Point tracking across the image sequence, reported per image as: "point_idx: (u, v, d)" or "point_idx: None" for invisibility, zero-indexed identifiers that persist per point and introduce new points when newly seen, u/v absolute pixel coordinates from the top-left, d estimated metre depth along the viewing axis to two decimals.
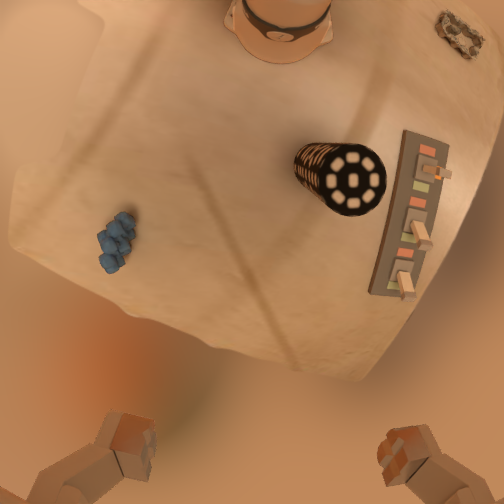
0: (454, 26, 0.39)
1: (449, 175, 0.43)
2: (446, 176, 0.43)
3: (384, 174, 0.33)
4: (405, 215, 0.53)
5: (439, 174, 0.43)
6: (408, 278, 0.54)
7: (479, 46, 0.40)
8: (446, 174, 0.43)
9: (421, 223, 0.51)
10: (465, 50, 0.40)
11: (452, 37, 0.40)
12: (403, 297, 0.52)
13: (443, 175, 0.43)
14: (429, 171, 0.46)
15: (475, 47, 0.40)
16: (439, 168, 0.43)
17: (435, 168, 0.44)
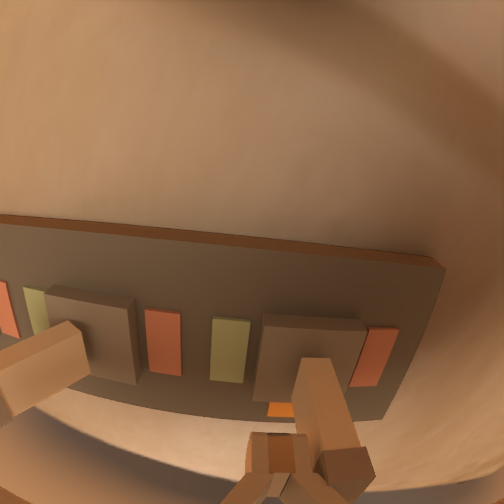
0: None
1: None
2: None
3: None
4: (97, 297, 0.12)
5: (336, 481, 0.07)
6: None
7: None
8: None
9: (82, 368, 0.12)
10: None
11: None
12: None
13: None
14: (318, 400, 0.10)
15: None
16: (367, 470, 0.07)
17: (351, 438, 0.08)
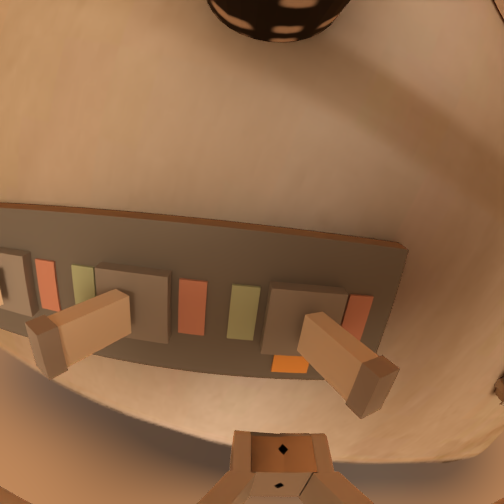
0: None
1: (372, 409, 0.12)
2: (371, 402, 0.12)
3: None
4: (141, 269, 0.17)
5: (381, 377, 0.12)
6: None
7: None
8: (377, 399, 0.12)
9: (125, 327, 0.16)
10: None
11: None
12: None
13: (376, 391, 0.12)
14: (336, 337, 0.15)
15: None
16: (393, 366, 0.12)
17: (370, 353, 0.13)
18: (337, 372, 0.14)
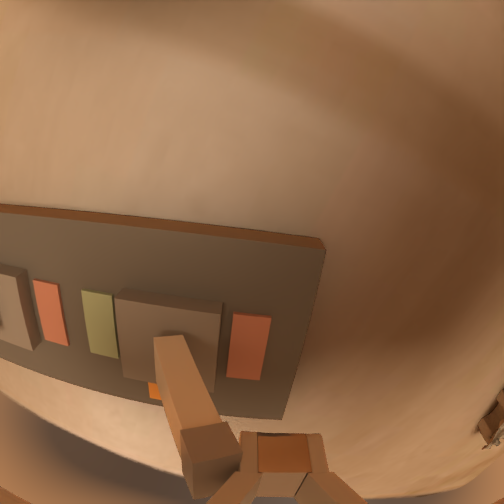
0: None
1: (210, 491, 0.07)
2: (201, 486, 0.07)
3: None
4: (0, 267, 0.12)
5: (200, 461, 0.07)
6: None
7: None
8: (211, 483, 0.07)
9: None
10: (500, 428, 0.17)
11: None
12: None
13: (201, 476, 0.07)
14: (171, 378, 0.10)
15: None
16: (232, 446, 0.07)
17: (210, 414, 0.08)
18: (173, 427, 0.09)
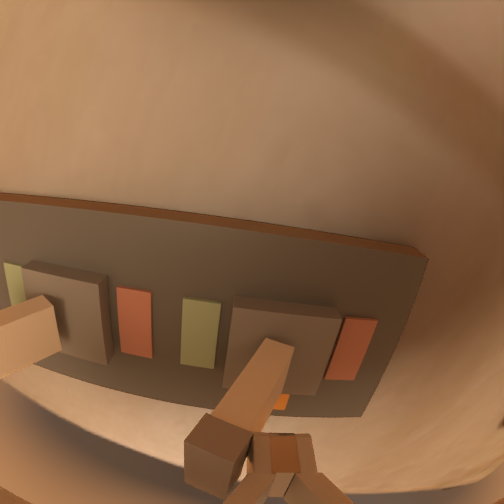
0: None
1: (201, 485, 0.07)
2: (191, 472, 0.07)
3: None
4: (72, 272, 0.12)
5: (192, 444, 0.07)
6: None
7: None
8: (201, 475, 0.07)
9: (53, 343, 0.12)
10: None
11: None
12: None
13: (192, 461, 0.07)
14: (247, 375, 0.10)
15: None
16: (231, 452, 0.07)
17: (246, 418, 0.08)
18: None
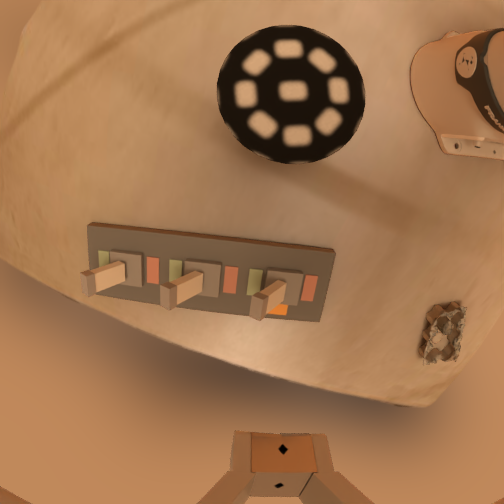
0: (449, 325, 0.41)
1: (253, 315, 0.34)
2: (252, 309, 0.34)
3: (310, 158, 0.17)
4: (207, 261, 0.38)
5: (253, 296, 0.33)
6: (116, 279, 0.36)
7: (443, 358, 0.44)
8: (254, 309, 0.34)
9: (200, 288, 0.37)
10: (427, 351, 0.43)
11: (433, 332, 0.41)
12: (85, 274, 0.32)
13: (253, 303, 0.33)
14: (269, 286, 0.36)
15: (439, 355, 0.44)
16: (262, 298, 0.33)
17: (268, 294, 0.34)
18: None
